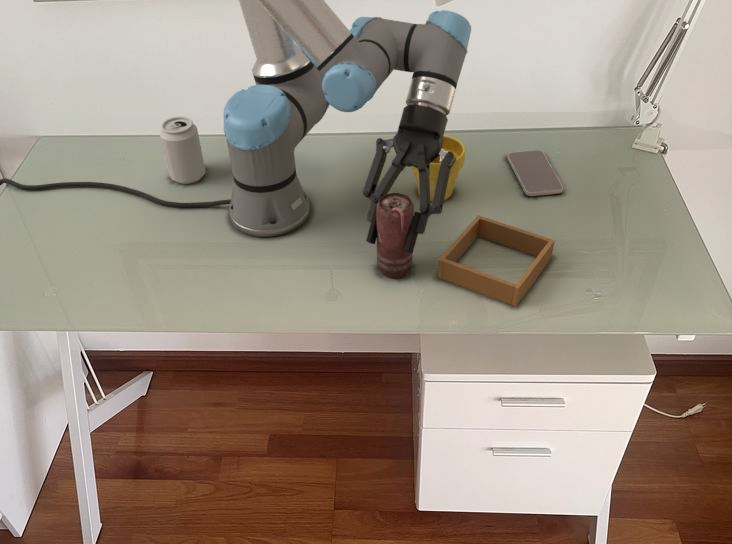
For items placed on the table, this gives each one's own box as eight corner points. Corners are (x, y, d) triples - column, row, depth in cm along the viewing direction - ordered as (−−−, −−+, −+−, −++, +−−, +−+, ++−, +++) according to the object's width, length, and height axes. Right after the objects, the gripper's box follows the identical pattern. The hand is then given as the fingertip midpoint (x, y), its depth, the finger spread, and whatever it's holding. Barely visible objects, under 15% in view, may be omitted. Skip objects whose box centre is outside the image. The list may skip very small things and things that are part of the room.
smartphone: (541, 149, 156) (565, 189, 145) (541, 153, 156) (564, 193, 146) (506, 152, 155) (527, 193, 145) (505, 156, 156) (526, 197, 145)
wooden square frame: (437, 277, 130) (438, 259, 128) (476, 233, 139) (477, 214, 136) (515, 306, 124) (518, 288, 121) (551, 258, 132) (555, 240, 130)
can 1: (213, 171, 157) (203, 119, 149) (190, 190, 153) (178, 136, 145) (186, 162, 161) (174, 110, 152) (162, 180, 156) (149, 127, 148)
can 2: (389, 284, 130) (389, 217, 120) (370, 264, 134) (369, 198, 124) (419, 273, 132) (422, 206, 122) (400, 253, 136) (401, 186, 125)
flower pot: (459, 209, 144) (463, 164, 137) (405, 205, 146) (406, 161, 139) (464, 179, 151) (467, 135, 144) (412, 176, 153) (413, 132, 146)
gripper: (366, 93, 124) (329, 230, 126) (478, 113, 118) (438, 257, 120) (379, 108, 131) (344, 238, 133) (486, 127, 125) (448, 263, 127)
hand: (389, 246), depth 126 cm, fingers closed on can 2, 6 cm apart
